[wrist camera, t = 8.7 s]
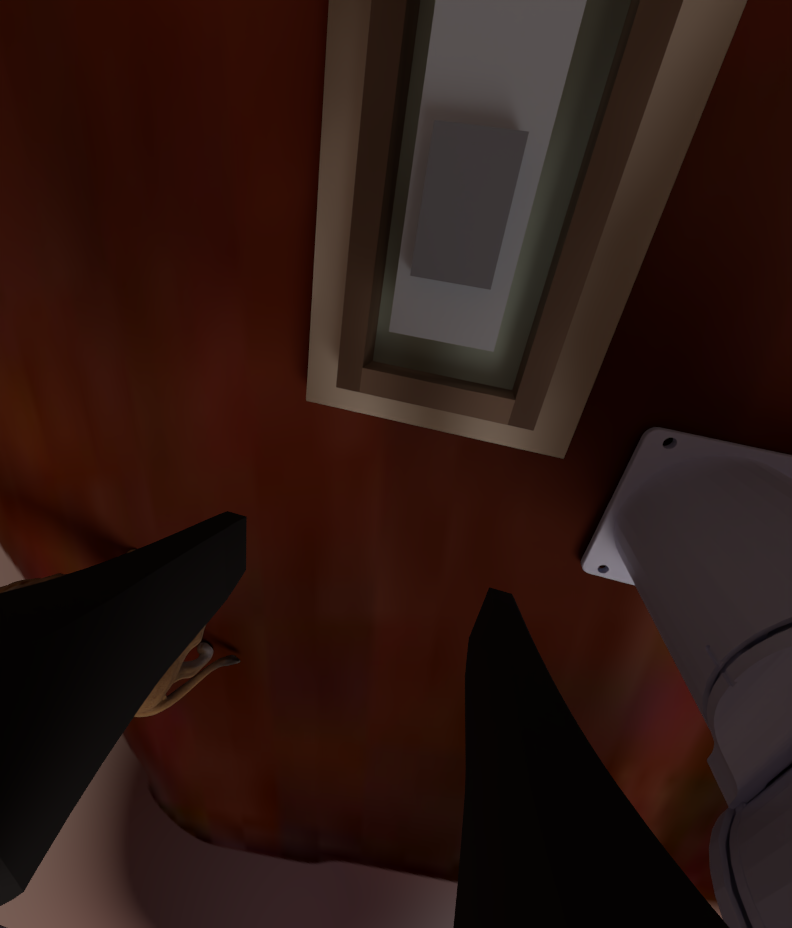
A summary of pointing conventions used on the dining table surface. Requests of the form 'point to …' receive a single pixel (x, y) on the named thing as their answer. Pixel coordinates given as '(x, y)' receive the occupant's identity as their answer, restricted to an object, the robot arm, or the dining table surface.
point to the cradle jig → (548, 230)
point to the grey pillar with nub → (478, 161)
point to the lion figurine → (177, 671)
